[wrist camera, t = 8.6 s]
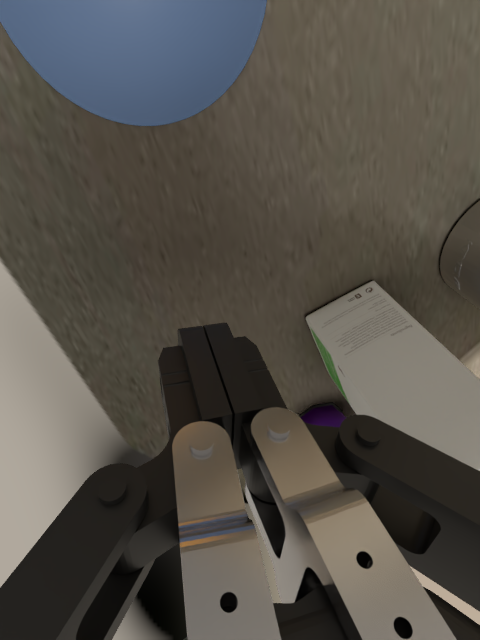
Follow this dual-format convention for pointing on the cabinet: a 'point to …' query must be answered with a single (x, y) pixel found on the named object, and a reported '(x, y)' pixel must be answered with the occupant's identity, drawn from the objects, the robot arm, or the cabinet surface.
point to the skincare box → (399, 371)
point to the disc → (136, 52)
